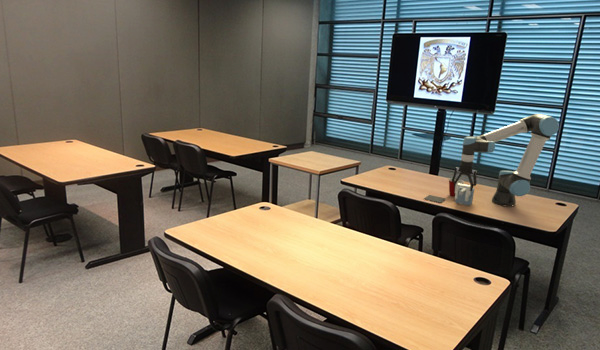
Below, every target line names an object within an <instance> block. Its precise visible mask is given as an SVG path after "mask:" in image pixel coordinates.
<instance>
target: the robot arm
mask: <svg viewBox="0 0 600 350" xmlns="http://www.w3.org/2000/svg"><path fill="white" fill-rule="evenodd" d="M559 124H560V122H559V121H558V119H556V117H553V116H551V115H546V114H543V113H536V114H532V115H528V116H526V117H524V118H521V119H519V121H517V122H515V123H511V124H509V125H507V126H506V125H505V126H503V127H501V128H500V127H499V129H494V130H492V131H490V132H488V133H485V134H484V133H483V134H481V135H477V136H476V135H474V136H465V137H464V138H463V143H462V151H461V157H460V159H461V160H460V165H459V167H457V166H456V167H455V168H454V173H453V176H452V177H451V178H452V182H454V188H455V193H456V185H457V184H458V183H457V181H458V180H459V179H460V178H461V177H462V175H465V176H467V178H468V181H469V185H470V186H469V193H468V196H470V193H471V191H472V190H473V188H474V187H475V186H476V185H477V172H478V170H476V169H473V166H474V165H473V164H474V159H475V153H488V154H489V153H491V154H492V153H494V152H495V149H496V143H497V142H500V141H502V140H506V139H508V138H511V137H513V136H516V135H518V134H522V133H525V134H526V133H530V135H531V137H530V140H529V141H528V144H527V146H526V148H525V150H524V153H523V155H522V157H521V159H520V162H519V163H518V166H517V168H516V170H513V171H512V170H500V171H499V174H498V180H497V186H496V189H495V192H494V194H493V196H492V199H491V202H492V203H493V204H495V205H499V206H503V205H506V206H505V207H513V206H512V205H515V206H516V203H517V201H516V197H523V196H526V195H528V193H529V192H530V191H531V183H530V182H531V180H532V178H531V174H532V171H533V170H534V167H535V166H536V163H537V161H538V159H539V157H540V154H541V153H542V150H543V148H544V146H545V144H546V142H547V141H549V140H551V137H552V136H554V135H555V134H556V133H558V131H559V128H560V125H559ZM458 171H459V175H458ZM471 173H472V174H471ZM457 175H458V176H457ZM472 175H473V179H472ZM455 178H456V180H455Z"/></svg>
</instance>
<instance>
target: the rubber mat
mask: <svg viewBox="0 0 600 350" xmlns="http://www.w3.org/2000/svg"><path fill="white" fill-rule="evenodd" d="M424 199H425V200H424ZM445 199H446V200H447V198H446V197H441V196H437V195H432V194H428V195H426V196H425V197H424V198H423V200H424V201H428V200H430V201H429V202H433V201H434V202H433V203H437V202H438V203H437V204H442V203H443V202H444V201H446V200H445Z"/></svg>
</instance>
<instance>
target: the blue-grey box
mask: <svg viewBox="0 0 600 350" xmlns="http://www.w3.org/2000/svg"><path fill="white" fill-rule="evenodd" d="M474 194H475V187H473V190H472V191H471V193H470V196H469V200H468V201H465V195H466V188H461V187H460V191H459V198H458V199H455V198H454V203H455V202H456V203H455V204H461V205H464V206H469V207H470V206H471V205H472V204H473V199H474Z"/></svg>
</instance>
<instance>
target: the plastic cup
mask: <svg viewBox="0 0 600 350" xmlns="http://www.w3.org/2000/svg"><path fill="white" fill-rule="evenodd" d="M452 178H453V177H449V178H448V187H449V188H448V189H449V190H448V191H449V193H448V194H449V196H450V197H453V198H455V188H454V182H452ZM456 179H457V177H455V180H456ZM457 183H460V184H465V181H464V180H463V179H460V178H459V180H458V181H457Z"/></svg>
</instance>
